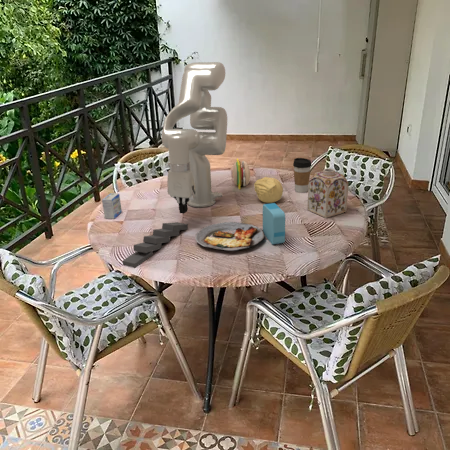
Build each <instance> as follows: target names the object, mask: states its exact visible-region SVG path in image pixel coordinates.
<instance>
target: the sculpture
mask: <svg viewBox="0 0 450 450" xmlns="http://www.w3.org/2000/svg"><path fill="white" fill-rule="evenodd" d="M253 186H254V191H255V193H256V195H257V197H258V199H259V201H261V202H263V203H264V204H271V203H275V202H278V201H280V200H281V198H282V197H283V193H284V188H283V185H282V183H281V182H280V181H279V180H278V179H276V178H275V177H268V176H264V177H263V178H259V179H257V180H256V181H255V182H254V185H253Z"/></svg>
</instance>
